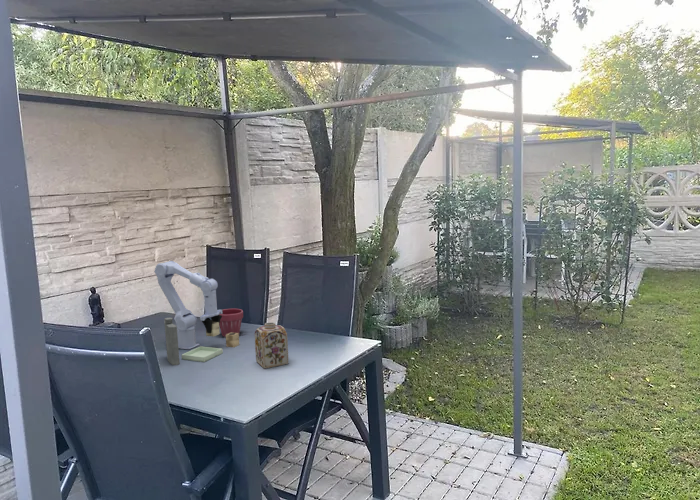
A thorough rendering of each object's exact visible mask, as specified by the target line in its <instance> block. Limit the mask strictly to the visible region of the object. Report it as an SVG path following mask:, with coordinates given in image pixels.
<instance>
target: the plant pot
mask: <svg viewBox="0 0 700 500" xmlns="http://www.w3.org/2000/svg"><path fill="white" fill-rule="evenodd" d="M221 310H222V314H219V315H222V318H221V320H220V323H219V331H220V332H221V333H220V334H221V335H222V337H223V338H226V335H227V334H229V333H231V332H232V333H239V334H240V333H241V326H242V319H243V318H244V311H243V309H240V308H224V309H221Z"/></svg>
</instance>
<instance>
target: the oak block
mask: <svg viewBox="0 0 700 500" xmlns="http://www.w3.org/2000/svg"><path fill="white" fill-rule="evenodd" d="M225 345H226V348H236V347H238V346H240V333H232V332H231V333H229V334H227V335H226V337H225Z"/></svg>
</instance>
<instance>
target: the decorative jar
mask: <svg viewBox="0 0 700 500" xmlns="http://www.w3.org/2000/svg"><path fill="white" fill-rule="evenodd" d="M253 335H254V347H255V348H254V349H255V351H254V352H255V361H256V363H257V364H259V365H260V366H261V367H262V368H263V369H270V368H274V367H275V368H276V367H278V366H279V367H281V366H283V365H285V364H286V365H288V364H289V346H288V345H289V343H288V342H289V341H288V340H289V339H288V333H287V331H286V329H285V327H284V326H283V325H279V324H276V322H265V323H264V325H262V326H259V327H258V328H256V330H255V331H254V333H253ZM286 365H285V366H286Z"/></svg>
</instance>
